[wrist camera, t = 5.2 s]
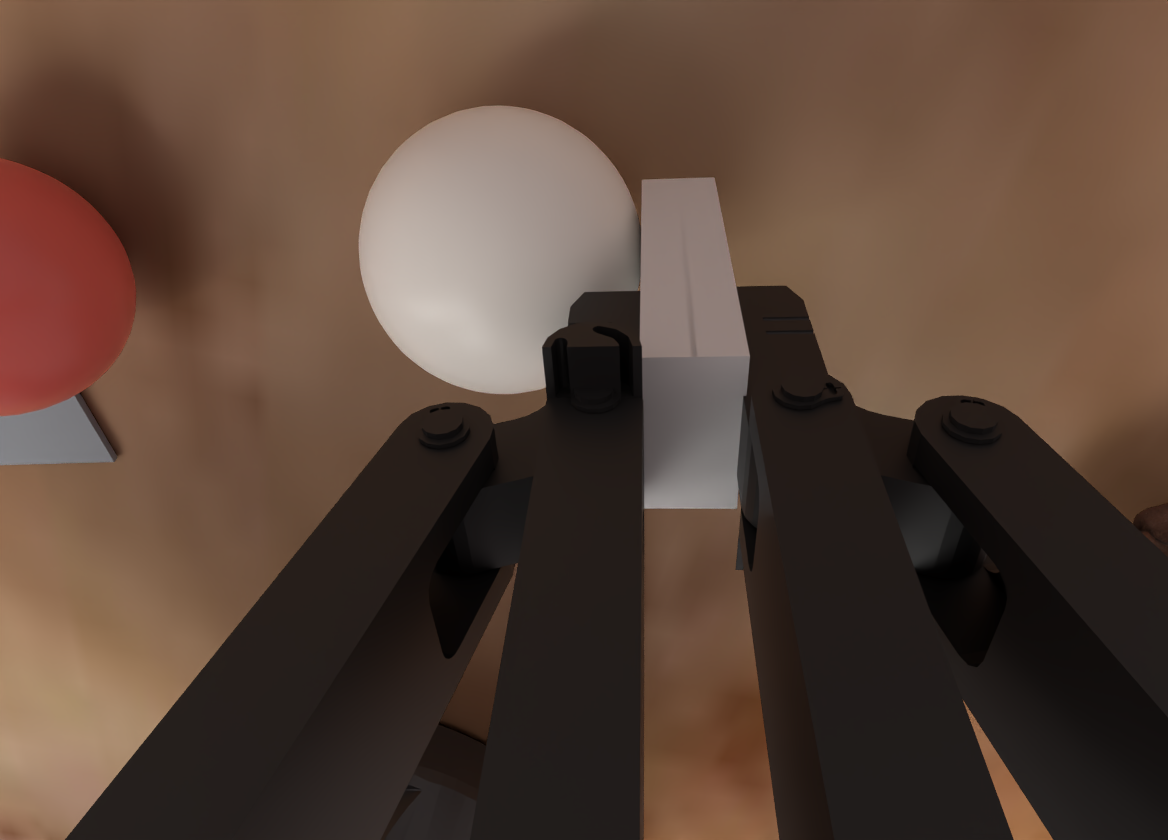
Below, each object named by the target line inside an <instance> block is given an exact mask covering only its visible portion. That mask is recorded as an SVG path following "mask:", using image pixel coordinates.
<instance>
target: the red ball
mask: <svg viewBox="0 0 1168 840" xmlns="http://www.w3.org/2000/svg"><path fill="white" fill-rule="evenodd" d="M135 311H136V287H135V280H134V276H133V272H132V268H131V265H130V261H129V258H128V256H127V254H126V251H125V249H124V247H123V245H122V243H121V242H120V240H119V238H118V236H117V235H116V234H115V232H114V231H113V229H112V228H111V226H110V225H109V224H108V223H107V221H106V220H105V219H104V218H103V217H102V215H101V214H100V213H99V212H98V211H97V210H96V209H95V208H94V207H93V206H92V205H91V204H90V203H88V202H87V201H86V200H85V199H84V198H82V197H81V196H80V195H79V194H78V193H76V192H75V191H73V190H72V189H71V188H69V187H68V186H66V185H65V184H63V183H61V182H60V181H58V180H56V179H55V178H53V177H51V176H49V175H47V174H45V173H42V172H40V171H38V170H36V169H33V168H30V167H28V166H25V165H22V164H19V163H17V162H14V161H10V160H6V159H2V158H0V416H11V415H20V414H24V413H29V412H33V411H37V410H42V409H45V408H48V407H50V406H53V405H55V404H58V403H60V402H63V401H65V400H68V399H70V398H71V397H73V396H75V395H76V394H78V393H80V392H81V391H83V390H85V389H86V388H88V387H89V386H91V385H92V384H93V383H94V382H95V381H97V380H98V379H99V378H100V377H101V376H102V375H103V374H104V373H105V372H106V371H107V370H108V369H109V368H110V367H111V365H112V364H113V363H114V362H115V360H116V359H117V358H118V356H119V355H120V353H121V352H122V350H123V348H124V346H125V344H126V342H127V340H128V337H129V335H130V332H131V329H132V325H133V321H134V316H135Z"/></svg>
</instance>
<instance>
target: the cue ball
mask: <svg viewBox="0 0 1168 840" xmlns="http://www.w3.org/2000/svg"><path fill="white" fill-rule="evenodd" d="M359 261H360V270H361V276H362V280H363V284H364V287H365V291H366V294H367V296H368V299H369V302H370V304H371V307H372V309H373V311H374V313H375V315H376V317H377V319H378V321H379V322H380V324H381V325H382V327H383V328H384V330H385V331H386V333H387V334H388V336H389V337H390V338H391V340H392V341H393V342H394V343H395V344H396V346H397V347H398V348H399V349H400V350H401V351H402V352H403V353H404V354H405V355H406V356H407V357H408V358H410V359H411V360H412V361H413V362H415V363H416V364H417V365H418V366H420V367H421V368H422V369H424V370H425V371H427V372H428V373H430V374H432V375H434V376H436V377H437V378H439V379H441V380H443V381H445V382H448V383H450V384H452V385H455V386H458V387H461V388H465V389H468V390H472V391H476V392H483V393H490V394H517V393H524V392H530V391H536V390H540V389H543V388H546V383H545V373H544V364H543V354H542V346H543V344H544V343H545V341H546V339H547V337H549V336H550V335H552V334H553V333H554V332H556V331H557V330H559V329H561V328H564V327H567V326H568V319H569V312H570V307H571V306H572V304H573V303H574V302H575V301H576V300H577V299H578V298H579V297H580V296H581V295H582V294H583V293H584V292H608V291H638V287H639V282H640V277H641V228H640V223H639V218H638V215H637V211H636V208H635V204H634V202H633V199H632V197H631V194H630V192H629V190H628V188H627V186H626V184H625V182H624V180H623V178H622V177H621V175H620V174H619V172H618V171H617V169H616V167H615V166H614V165H613V164H612V162H611V161H610V160H609V159H608V157H607V156H606V155H605V154H604V153H603V152H602V151H601V150H600V149H599V148H598V147H597V146H596V145H595V144H594V143H593V142H592V141H591V140H590V139H589V138H587V137H586V136H585V135H584V134H582V133H581V132H579V131H578V130H576V129H574V128H573V127H571V126H570V125H568V124H566V123H565V122H563V121H561V120H559V119H557V118H554V117H552V116H550V115H547V114H544V113H541V112H538V111H535V110H531V109H527V108H521V107H514V106H500V105H496V106H481V107H475V108H470V109H465V110H461V111H456V112H454V113H452V114H449V115H447V116H444V117H442V118H440V119H437V120H435V121H433V122H431V123H429V124H428V125H426V126H424V127H423V128H421V129H420V130H418V131H417V132H416V133H414V134H413V135H412V136H410V137H409V138H408V139H407V140H406V141H405V142H404V143H403V144H401V145H400V146H399V147H398V148H397V149H396V151H395V152H394V153H393V154H392V156H391V157H390V158H389V159H388V161H387V162H386V163H385V164H384V166H383V167H382V168H381V170H380V172H379V174H378V176H377V178H376V179H375V181H374V183H373V185H372V187H371V189H370V191H369V194H368V197H367V200H366V203H365V206H364V210H363V213H362V219H361V225H360V233H359Z"/></svg>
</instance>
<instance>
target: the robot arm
mask: <svg viewBox="0 0 1168 840" xmlns="http://www.w3.org/2000/svg"><path fill="white" fill-rule="evenodd" d="M542 354H543V364H544V373H545V383H546V393H547V401H546V405H545V406H544V407H542V408H541V409H540V410H538V411H536V412H534V413H532V414H530V415H528V416H525V417H521V418H518V419H515V420H511V421H506V422H502V423H497V424H493V423H492V420H491V417H490V415H489V414H487V413H486V412H485V411H484V410H482V409H481V408H480V407H477V406H473V405H470V404H467V403H443V404H437V405H433V406H428V407H426V408H424V409H422V410H420V411H417V412H415V413H413V414H411V415H410V416H409V417H408V418H407V419H406V420H404V421H403V422H402V423H401V424H400V425H399V426H398V427H397V429H396V430H395V431H394V432H393V434H392V435H391V436H390V437H389V439H388V440H387V441H386V442H385V444H384V445H383V446H382V447H381V449H380V450H379V451H378V452H377V453H376V455H375V456H374V457H373V458H372V460H371V461H370V462H369V463H368V465H367V466H366V467H365V468H364V470H363V471H362V472H361V473H360V475H359V476H358V477H357V478H356V480H355V481H354V482H353V483H352V484H351V486H350V487H349V488H348V489H347V491H346V492H345V493H344V494H343V496H342V497H341V498H340V499H339V501H338V502H337V503H336V504H335V506H334V507H333V508H332V509H331V511H330V512H329V513H328V514H327V515H326V517H325V518H324V519H323V520H322V522H321V523H320V524H319V525H318V527H317V528H316V529H315V530H314V532H313V533H312V534H311V535H310V537H309V538H308V539H307V540H306V542H305V543H304V544H303V545H302V546H301V548H300V549H299V550H298V551H297V553H296V554H295V555H294V556H293V558H292V559H291V560H290V561H289V563H288V564H287V565H286V566H285V568H284V569H283V570H282V571H281V573H280V574H279V575H278V576H277V577H276V579H275V580H274V581H273V582H272V584H271V585H270V586H269V587H268V589H267V590H266V591H265V592H264V594H263V595H262V596H261V597H260V599H259V600H258V601H257V602H256V604H255V605H254V606H253V607H252V608H251V610H250V611H249V612H248V613H247V615H246V616H245V617H244V618H243V620H242V621H241V622H240V623H239V625H238V626H237V627H236V628H235V630H234V631H233V632H232V633H231V635H230V636H229V637H228V638H227V639H226V641H225V642H224V643H223V644H222V646H221V647H220V648H219V649H218V651H217V652H216V653H215V654H214V656H213V657H212V658H211V659H210V661H209V662H208V663H207V664H206V666H205V667H204V668H203V669H202V670H201V672H200V673H199V674H198V675H197V677H196V678H195V679H194V680H193V682H192V683H191V684H190V685H189V687H188V688H187V689H186V690H185V692H184V693H183V694H182V695H181V697H180V698H179V699H178V700H177V702H176V703H175V704H174V705H173V706H172V708H171V709H170V710H169V711H168V713H167V714H166V715H165V716H164V718H163V719H162V720H161V721H160V723H159V724H158V725H157V726H156V728H155V729H154V730H153V731H152V733H151V734H150V735H149V736H148V737H147V739H146V740H145V741H144V742H143V744H142V745H141V746H140V747H139V749H138V750H137V751H136V752H135V754H134V755H133V756H132V757H131V759H130V760H129V761H128V762H127V764H126V765H125V766H124V767H123V768H122V770H121V771H120V772H119V773H118V775H117V776H116V777H115V778H114V780H113V781H112V782H111V783H110V785H109V786H108V787H107V788H106V790H105V791H104V792H103V793H102V795H101V796H100V797H99V798H98V799H97V801H96V802H95V803H94V804H93V806H92V807H91V808H90V809H89V811H88V812H87V813H86V814H85V816H84V817H83V818H82V819H81V821H80V822H79V823H78V824H77V826H76V827H75V828H74V829H73V830H72V832H71V833H70V834H69V835H68V837H67V838H66V839H65V840H644V509H737V502H738V490H739V494H740V501H741V517H740V528H739V539H738V550H737V561H736V570H743V569H744V576H745V583H746V591H747V598H748V606H749V614H750V621H751V629H752V636H753V644H754V651H755V659H756V666H757V674H758V681H759V689H760V697H761V704H762V712H763V719H764V727H765V734H766V742H767V749H768V757H769V764H770V772H771V780H772V787H773V795H774V802H775V810H776V817H777V825H778V832H779V840H1014V839H1013V837H1012V834H1011V831H1010V829H1009V826H1008V823H1007V820H1006V818H1005V815H1004V812H1003V809H1002V807H1001V804H1000V801H999V798H998V796H997V793H996V790H995V787H994V785H993V782H992V779H991V776H990V774H989V771H988V768H987V765H986V763H985V760H984V757H983V754H982V752H981V749H980V746H979V743H978V741H977V738H976V735H975V733H974V730H973V727H972V724H971V722H970V719H969V716H968V713H967V711H966V708H965V705H964V702H965V703H966V705H967V707H968V708H969V710H970V711H971V713H972V714H973V716H974V717H975V719H976V720H977V722H978V724H979V725H980V727H981V728H982V730H983V731H984V733H985V734H986V736H987V737H988V739H989V741H990V742H991V744H992V745H993V747H994V748H995V750H996V751H997V753H998V754H999V756H1000V758H1001V759H1002V761H1003V762H1004V764H1005V765H1006V767H1007V768H1008V770H1009V772H1010V773H1011V775H1012V776H1013V778H1014V779H1015V781H1016V782H1017V784H1018V785H1019V787H1020V789H1021V790H1022V792H1023V793H1024V795H1025V796H1026V798H1027V799H1028V801H1029V802H1030V804H1031V806H1032V807H1033V809H1034V810H1035V812H1036V813H1037V815H1038V816H1039V818H1040V819H1041V821H1042V823H1043V824H1044V826H1045V827H1046V829H1047V830H1048V832H1049V833H1050V835H1051V836H1052V838H1053V840H1168V557H1167V556H1166V555H1165V554H1164V553H1163V552H1162V551H1161V550H1160V549H1159V548H1158V547H1156V546H1155V545H1154V544H1153V543H1152V542H1151V541H1150V540H1149V539H1148V538H1147V537H1146V536H1145V535H1144V534H1143V533H1142V532H1141V531H1139V530H1138V529H1137V528H1136V527H1135V526H1134V525H1133V524H1132V523H1131V522H1130V521H1129V520H1128V519H1127V518H1126V517H1125V516H1123V515H1122V514H1121V513H1120V512H1119V511H1118V510H1117V509H1116V508H1115V507H1114V506H1113V505H1112V504H1111V503H1110V502H1109V501H1108V500H1106V499H1105V498H1104V497H1103V496H1102V495H1101V494H1100V493H1099V492H1098V491H1097V490H1096V489H1095V488H1094V487H1093V486H1092V485H1090V484H1089V483H1088V482H1087V481H1086V480H1085V479H1084V478H1083V477H1082V476H1081V475H1080V474H1079V473H1078V472H1077V471H1076V470H1075V469H1073V468H1072V467H1071V466H1070V465H1069V464H1068V463H1067V462H1066V461H1065V460H1064V459H1063V458H1062V457H1061V456H1060V455H1059V454H1057V453H1056V452H1055V451H1054V450H1053V449H1052V448H1051V447H1050V446H1049V445H1048V444H1047V443H1046V442H1045V441H1044V440H1043V439H1042V438H1040V437H1039V436H1038V435H1037V434H1036V433H1035V432H1034V431H1033V430H1032V429H1031V428H1030V427H1029V426H1028V425H1027V424H1026V423H1024V422H1023V421H1022V420H1021V419H1020V418H1019V417H1018V416H1016V415H1015V414H1013V413H1012V412H1010V411H1009V410H1007V409H1006V408H1004V407H1002V406H1000V405H997V404H995V403H992V402H989V401H987V400H984V399H980V398H976V397H969V396H941V397H938V398H935V399H932V400H929V401H926V402H925V403H924V404H923V405H922V406H920V407H919V408H918V409H917V411H916V415H915V419H914V421H913V420H908V419H902V418H897V417H892V416H886V415H882V414H878V413H874V412H870V411H867V410H865V409H862V408H860V407H858V406H855V403H854V401H853V398H852V395H851V394H850V392H849V391H848V389H847V388H846V387H845V385H844V384H843V383H841V382H840V381H838V380H836V379H835V378H833V377H832V376H830V375H828V373H827V370H826V367H825V364H824V361H823V358H822V355H821V352H820V349H819V346H818V343H817V340H816V337H815V334H813V328H812V325H811V322H810V320H809V316H808V313H807V310H806V307H805V304H804V301H803V299H801V298H800V297H799V296H798V295H797V294H795V293H794V292H793V291H792V290H791V289H789V288H788V287H787V286H746V287H736V283H735V278H734V273H733V268H732V263H731V258H730V253H729V248H728V243H727V238H726V233H725V228H724V222H723V217H722V212H721V207H720V202H719V197H718V192H717V187H716V182H715V177H707V178H676V179H646V180H642V207H641V284H640V291H608V292H584V293H583V294H582V295H581V296H580V297H579V298H578V299H577V300H576V301H575V302H574V303H573V304H572V306H571V307H570V312H569V319H568V326H567V327H564V328H561V329H559V330H557V331H556V332H554V333H553V334H552V335H550V336H549V337H547V339H546V341H545V343H544V344H543V346H542ZM515 563H518V567H517V573H516V579H515V584H514V590H513V596H512V602H511V607H510V613H509V619H508V624H507V630H506V636H505V642H504V647H503V653H502V659H501V664H500V670H499V676H498V682H497V687H496V693H495V699H494V705H493V710H492V716H491V722H490V727H489V733H488V739H487V745H486V746H485V745H483V744H482V743H480V742H478V741H476V740H474V739H472V738H470V737H468V736H466V735H463V734H461V733H459V732H456V731H454V730H451V729H449V728H446V727H443V726H440V725H438V724H439V721H440V719H441V717H442V715H443V713H444V711H445V709H446V707H447V705H448V703H449V701H450V699H451V697H452V695H453V693H454V691H455V689H456V687H457V685H458V683H459V681H460V679H461V677H462V675H463V673H464V671H465V669H466V667H467V665H468V663H469V661H470V659H471V657H472V655H473V653H474V651H475V649H476V647H477V645H478V643H479V641H480V639H481V637H482V635H483V633H484V631H485V629H486V627H487V625H488V623H489V621H490V619H491V617H492V615H493V613H494V611H495V609H496V607H497V605H498V603H499V601H500V599H501V597H502V595H503V593H504V591H505V589H506V587H507V585H508V583H509V581H510V579H511V577H512V575H513V571H514V566H515ZM962 699H963V700H964V702H963V700H962Z"/></svg>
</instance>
